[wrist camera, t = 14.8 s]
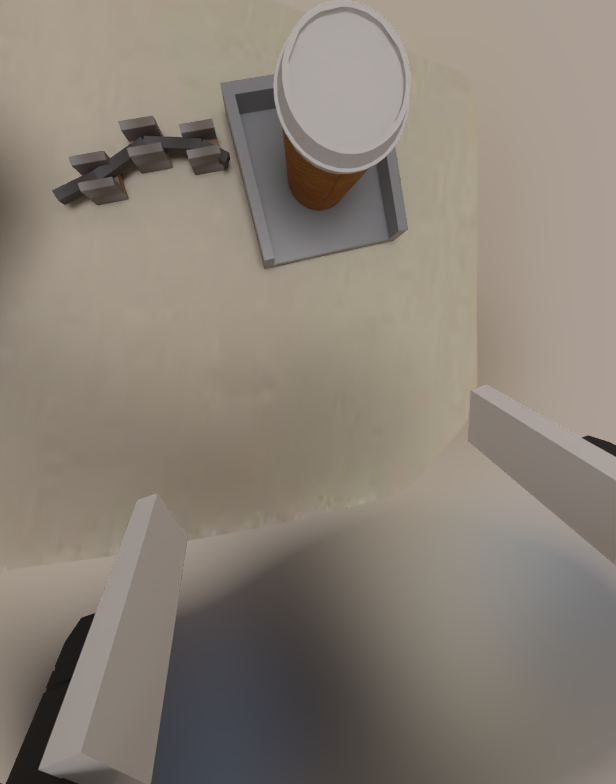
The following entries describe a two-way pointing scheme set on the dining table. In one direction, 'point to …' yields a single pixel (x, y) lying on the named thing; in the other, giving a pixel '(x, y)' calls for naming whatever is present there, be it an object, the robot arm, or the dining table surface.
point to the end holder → (279, 206)
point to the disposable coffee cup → (339, 98)
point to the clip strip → (142, 159)
